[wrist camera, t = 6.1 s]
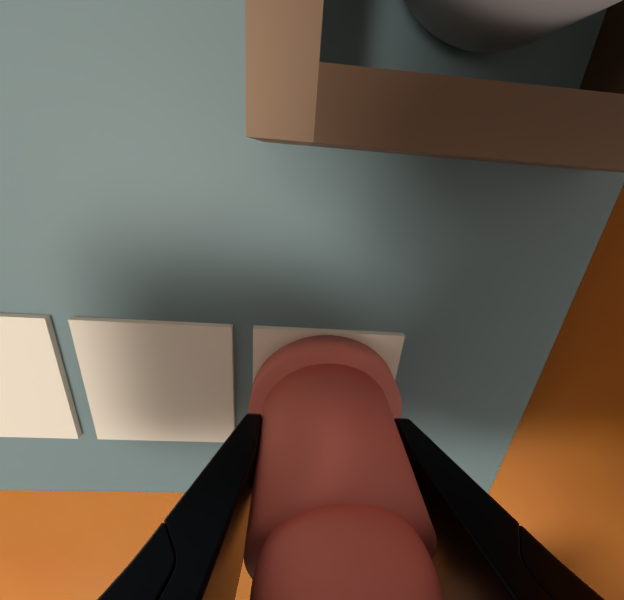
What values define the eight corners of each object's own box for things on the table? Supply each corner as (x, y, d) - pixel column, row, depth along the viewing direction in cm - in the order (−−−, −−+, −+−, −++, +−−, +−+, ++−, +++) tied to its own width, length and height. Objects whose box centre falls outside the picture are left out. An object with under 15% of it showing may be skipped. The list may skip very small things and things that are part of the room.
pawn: (381, 450, 11) (479, 794, 5) (251, 447, 11) (195, 809, 5) (407, 338, 9) (599, 664, 3) (252, 331, 9) (165, 675, 3)
